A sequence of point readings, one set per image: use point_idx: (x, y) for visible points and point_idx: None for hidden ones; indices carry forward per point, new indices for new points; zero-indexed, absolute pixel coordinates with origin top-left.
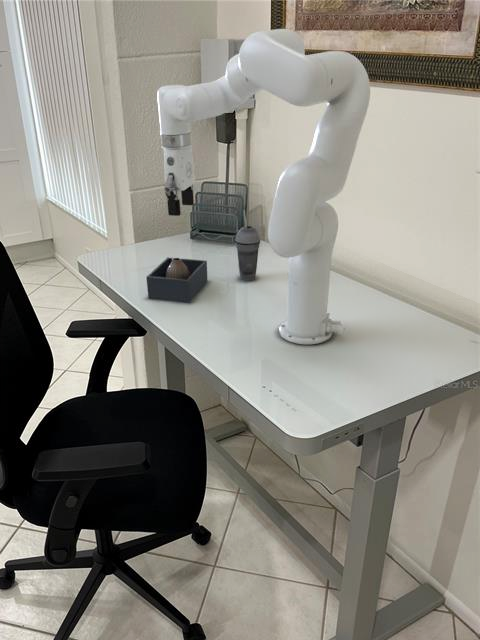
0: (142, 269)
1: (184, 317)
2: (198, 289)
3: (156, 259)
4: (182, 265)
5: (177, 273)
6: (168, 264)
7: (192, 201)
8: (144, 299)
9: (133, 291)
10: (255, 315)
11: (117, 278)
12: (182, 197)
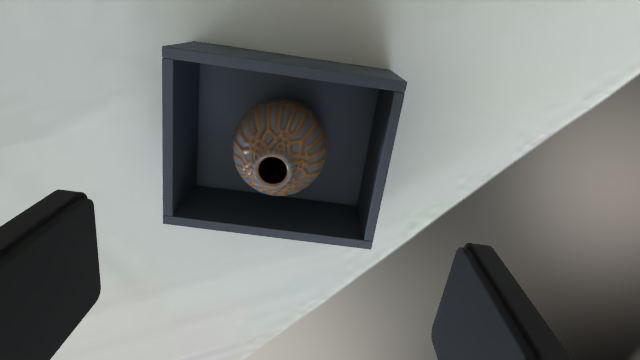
0: (138, 284)
1: (502, 62)
2: (295, 57)
3: None
4: (287, 137)
5: (319, 146)
6: (186, 206)
7: (65, 212)
8: None
9: (311, 265)
10: None
11: (224, 331)
12: (55, 345)
